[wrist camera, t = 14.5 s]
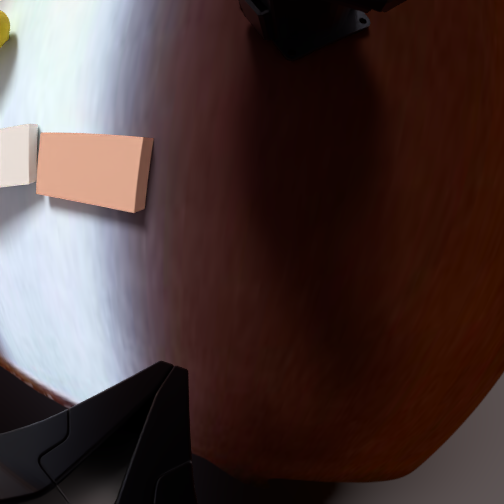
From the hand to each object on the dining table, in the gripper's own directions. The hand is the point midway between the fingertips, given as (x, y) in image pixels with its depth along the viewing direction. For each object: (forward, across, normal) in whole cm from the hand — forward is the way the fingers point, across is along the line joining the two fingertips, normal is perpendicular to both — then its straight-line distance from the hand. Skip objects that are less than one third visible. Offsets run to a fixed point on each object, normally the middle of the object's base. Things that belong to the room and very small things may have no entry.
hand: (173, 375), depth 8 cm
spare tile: (+12, +8, -3) cm, 15 cm away
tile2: (+12, +19, -3) cm, 23 cm away
